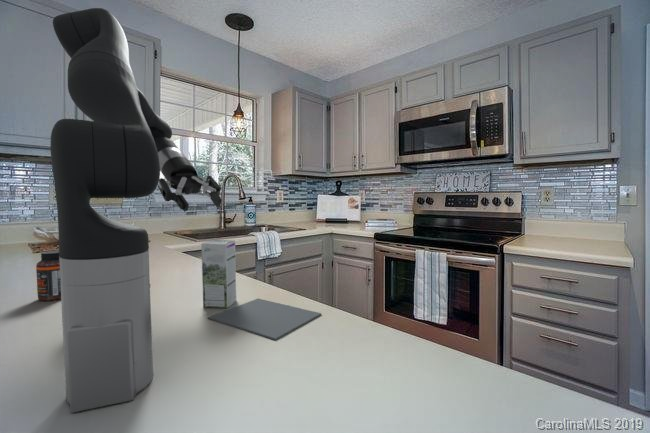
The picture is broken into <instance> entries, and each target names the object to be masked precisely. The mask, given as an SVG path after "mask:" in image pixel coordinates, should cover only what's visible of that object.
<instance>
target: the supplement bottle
mask: <svg viewBox="0 0 650 433" xmlns="http://www.w3.org/2000/svg"><path fill="white" fill-rule="evenodd" d="M59 257H60V256H59V250H48V251H42V252H41V253H40V258H41V260H40V261H38V262H37V263H36V265H35V267H36V270H35V271H36V272H35V273H36V282H37V283H36V288H37V289H36V290H37V299H38V300H39V301H40V302H53V301H58V300H61V279H60V260H59Z"/></svg>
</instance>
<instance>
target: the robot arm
mask: <svg viewBox="0 0 650 433" xmlns="http://www.w3.org/2000/svg"><path fill="white" fill-rule="evenodd" d="M52 27H53V30H54V34H55V35H56V38H57V39H58V41H59V43H60V46H62V48H63V49H64V51H65V52H66V53H67V55H68V56H69V58H70V61H69V62H68V68H67V90H68V91H67V92H68V93H69V97H70V99H71V100H72V102H73V103H74V105H75V106H76V107H77V108H78V109H79V110H80V112H82V113H83V114H84V115H85V116H86V117H88V119H90V120H83V119H74V118H62V119H59V120H57V121H56V122H55V124H54V125H53V127H52V129H51V134H50V146H49V147H50V159H51V167H52V168H51V170H52V175H53V183H54V184H53V185H54V190H55V200H56V201H55V202H56V210H57V212H56V213H57V225H58V227H57V230H58V231H57V232H58V251H59V256H60V257H59V260H60V279H61V299H60V301H61V316H62V317H61V320H62V321H61V322H62V325H61V326H62V341H63V342H62V343H63V360H64V362H63V365H64V379H65V381H64V382H65V398H66V403H67V404H69V409H70V413H77V412H80V411H86V410H92V409H95V408H96V409H97V408H101V407H107V406H110V405H115V404H119V403H125V402H131V401H134V400H135V397H136V395H137V394H138V393H139V392H141V391H142V390H144V389H145V388H146V387H147V386H149V385H150V383H151V382H152V380H153V378H154V362H153V361H154V360H153V357H154V356H153V339H152V338H153V337H152V336H153V335H152V331H153V330H152V312H151V311H152V307H151V283H150V281H151V280H150V248H149V247H150V245H149V244H150V243H149V233H148V231H147V230H146V229H145V228H143V227H141V226H137V225H133V224H129V223H124V222H122V221H118V220H114V219H112V218H109V217H107V216H105V215H104V214H102V213H100V212H98V211H97V210H96V209H94V208H93V207H92V206H91V203H90V200H91V199H137V198H144V197H147V196H151V195H152V193H154V192H155V190H157V189H158V190H159V193H160V194H161V196H162V197H163V200H164V201H165V202H171V201H173V202H174V203H176V205H177V206H178V208H179V209H180V210H182V211H183V212H188V210H189V206H190V205H189V202H188V201H187V200H186V198H185V197H184V194H185V195H190V194H193V195H195V194H198V195H201V196H207V197H209V199H210V201H212V203H213V204H214V206H215V207H216V208H217V207H221V204H222V202H223V199H222V198H221V197H220V194H221V190H222V187H221V185H220V184H219V183H218V182H217V181H216V180H215V179H214V178H213V177H212V176H211V175H207V176H206V177H205V178H202V177H201V176H199V175H198V172H197V169H196V168H195V167H194V166H193V164H192V163H191V161H190V160H189V159H188V157H187V156H186V155H185V154H184V153H183V152H182V151H181V150H180V149H179V148H178V145H176V143H175V142H174V141H173V140H172V139H171V138H172V136H173V131H172V129H171V125H169V123H167V121H166V120H165V119H163V118H162V117H161V116H160V115H158V114H157V113H156V112H155V111H154V109H153V108H152V105H151V104H150V103H149V101H148V99H147V97H146V96H145V94H144V93H143V92H142V91H141V90H140V89H139V88H138V86H137V83H136V79H135V76H134V72H133V70H132V68H131V64H130V51H129V44H128V40H127V37H126V35H125V31H124V29H123V27H122V25H121V24H120V23H119V20H118V19H117V18H116V17H115V16H114V15H113V14H112V13H111V12H110V11H108V10H107V9H105V8H102V7H92V8H87V9H81V10H78V11H77V10H76V11H71V12H66V13H62V14H61V13H60V14H58V15H55V16H54V17H53V18H52ZM161 174H162V176H163V177H164V178H162V177H161ZM202 187H203V188H202ZM171 188H172V189H173V190H175V192H172V190H171ZM209 191H210V192H209Z"/></svg>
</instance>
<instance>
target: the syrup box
mask: <svg viewBox="0 0 650 433" xmlns="http://www.w3.org/2000/svg"><path fill="white" fill-rule="evenodd" d="M200 246H201V247H200V248H201V268H202V270H201V272H202V273H201V274H202V275H201V276H202V280H201V281H202V305H203V306H202V307H203V308H212V309H213V308H214V309H215V308H216V309H217V308H218V309H228V308H229V307H231V306H232V305H233V304H234V303H235V302H236V301H237V281H236V278H237V277H236V276H237V275H236V273H237V272H236V268H237V267H236V266H237V264H236V263H237V262H236V261H237V260H236V257H237V256H236V240H234V239H233V240H232V239H231V240H229V239H210V240H205V241H204V242H201V245H200Z"/></svg>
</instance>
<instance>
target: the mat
mask: <svg viewBox="0 0 650 433" xmlns="http://www.w3.org/2000/svg"><path fill="white" fill-rule="evenodd" d="M320 316H322V313H321V312H319V311H312V310H310V309H305V308H300V307H297V306H292V305H287V304H282V303H278V302H275V301H271V300H267V299H262V298H256V299H253V300H250V301H248V302H245V303H242V304H240V305H237V306H234V307H231V308H229V309H228V308H227V309H226V310H223V311H221V312H217V313H215V314H212V315H209V316H207V319H208V320H211V321H215V322H218V323H221V324H224V325H227V326H230V327H234V328H236V329H240V330H242V331H245V332H249V333H252V334H255V335H258V336H261V337H264V338H268V339H271V340H273V341H277V340H279V339H280V338H282V337H284V336H285V335H288V334H289V333H291V332H294V331H295V330H296V329H298V328H301V327H302V326H304V325H305V324H307V323H309V322H312V321H313V320H315V319H316V318H318V317H320Z"/></svg>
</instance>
